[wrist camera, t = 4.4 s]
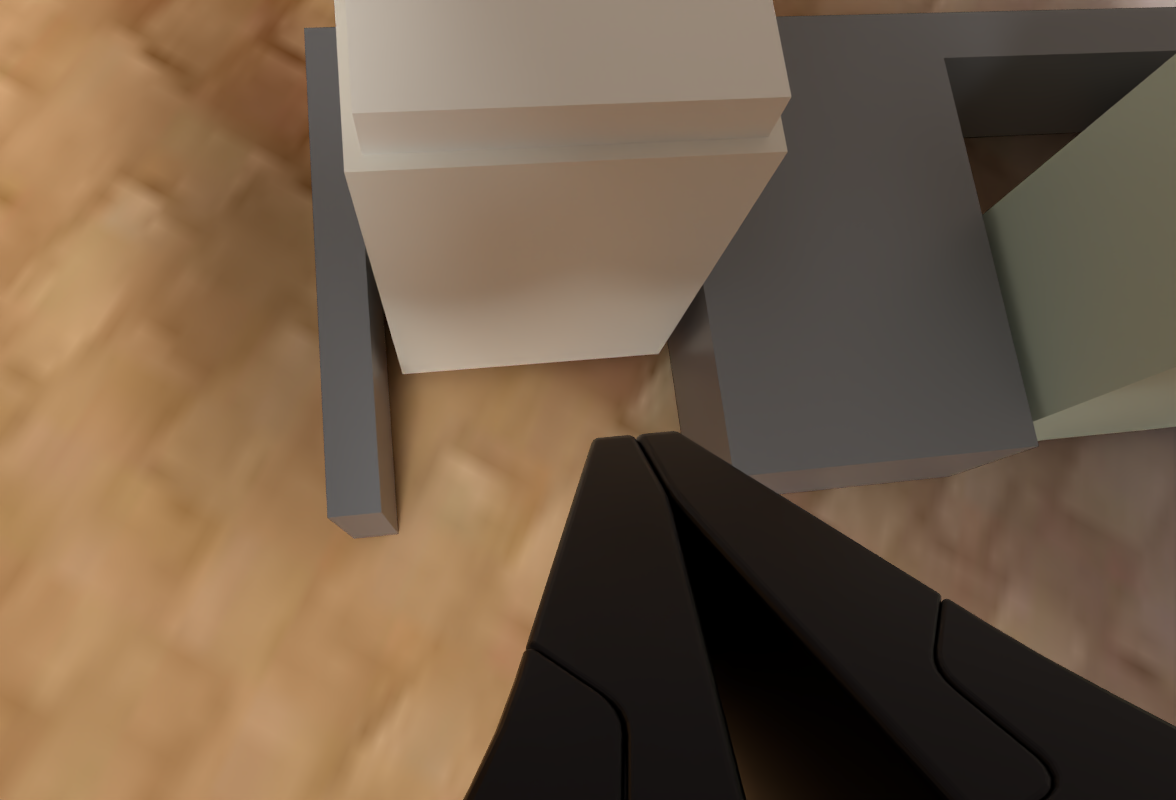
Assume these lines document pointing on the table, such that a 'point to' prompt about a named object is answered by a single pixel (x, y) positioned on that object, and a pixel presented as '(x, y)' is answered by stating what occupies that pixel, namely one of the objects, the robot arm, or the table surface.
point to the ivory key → (552, 166)
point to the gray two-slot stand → (804, 257)
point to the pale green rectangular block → (1097, 271)
